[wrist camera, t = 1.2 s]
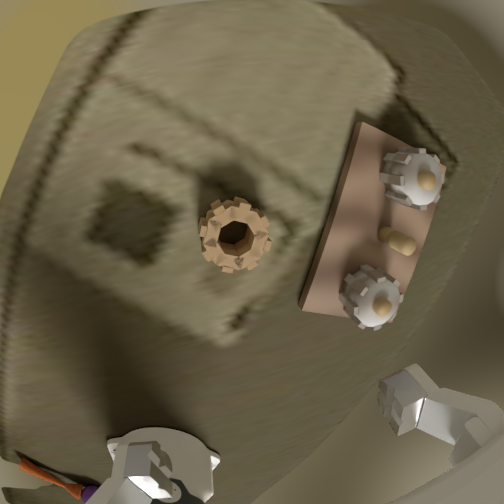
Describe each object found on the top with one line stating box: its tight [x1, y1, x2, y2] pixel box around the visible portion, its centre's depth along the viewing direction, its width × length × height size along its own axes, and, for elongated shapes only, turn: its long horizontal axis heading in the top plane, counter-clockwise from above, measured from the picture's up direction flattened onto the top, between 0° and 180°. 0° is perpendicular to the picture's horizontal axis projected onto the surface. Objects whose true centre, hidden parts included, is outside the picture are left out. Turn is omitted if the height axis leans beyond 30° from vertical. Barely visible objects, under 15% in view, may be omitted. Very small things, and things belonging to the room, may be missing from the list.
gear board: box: [298, 122, 446, 330], centre depth 32 cm, size 22×14×6 cm, turn 164°
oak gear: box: [199, 197, 272, 273], centre depth 30 cm, size 7×7×4 cm
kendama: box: [20, 457, 99, 504], centre depth 39 cm, size 6×6×20 cm
